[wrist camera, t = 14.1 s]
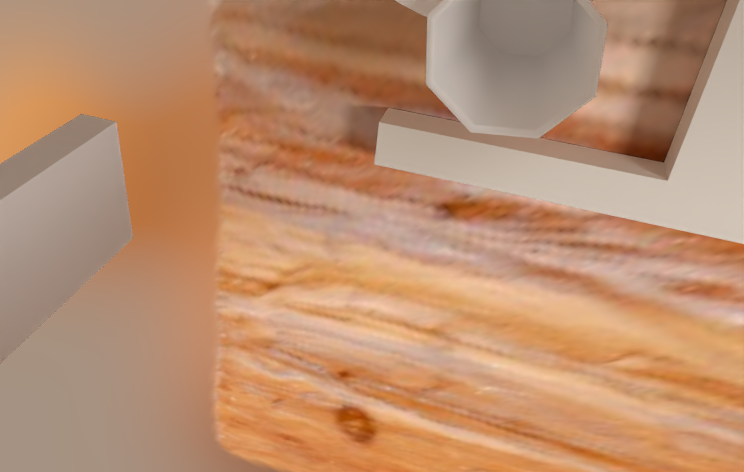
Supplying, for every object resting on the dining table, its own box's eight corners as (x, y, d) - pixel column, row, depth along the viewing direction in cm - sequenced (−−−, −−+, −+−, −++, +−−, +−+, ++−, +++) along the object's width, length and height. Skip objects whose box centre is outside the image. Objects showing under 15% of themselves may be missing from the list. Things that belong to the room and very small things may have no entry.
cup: (556, 98, 33) (548, 170, 27) (377, 11, 34) (326, 63, 27) (638, -38, 29) (651, 10, 23) (433, -136, 29) (389, -116, 23)
